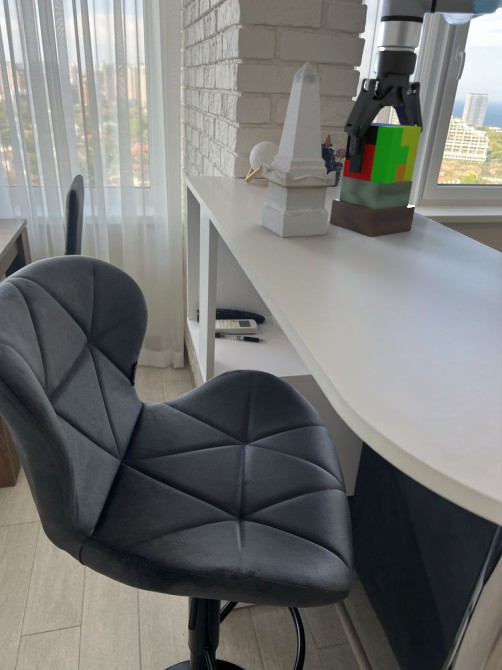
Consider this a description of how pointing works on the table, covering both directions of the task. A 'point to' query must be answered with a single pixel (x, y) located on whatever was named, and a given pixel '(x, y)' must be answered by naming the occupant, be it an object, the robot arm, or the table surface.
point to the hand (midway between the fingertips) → (378, 171)
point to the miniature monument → (299, 166)
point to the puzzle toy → (386, 153)
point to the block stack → (373, 207)
